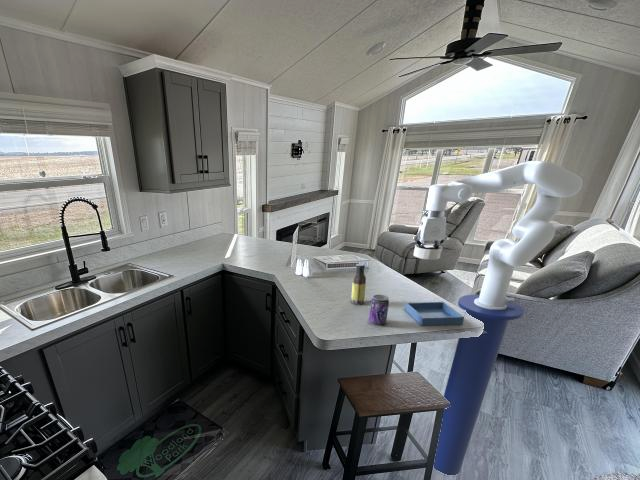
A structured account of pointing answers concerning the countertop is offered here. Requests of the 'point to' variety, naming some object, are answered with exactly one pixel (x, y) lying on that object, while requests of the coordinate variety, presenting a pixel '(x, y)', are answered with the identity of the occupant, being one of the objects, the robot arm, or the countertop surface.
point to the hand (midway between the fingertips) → (427, 253)
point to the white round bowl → (427, 252)
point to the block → (429, 247)
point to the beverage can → (379, 309)
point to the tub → (434, 313)
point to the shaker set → (304, 269)
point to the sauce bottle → (358, 285)
